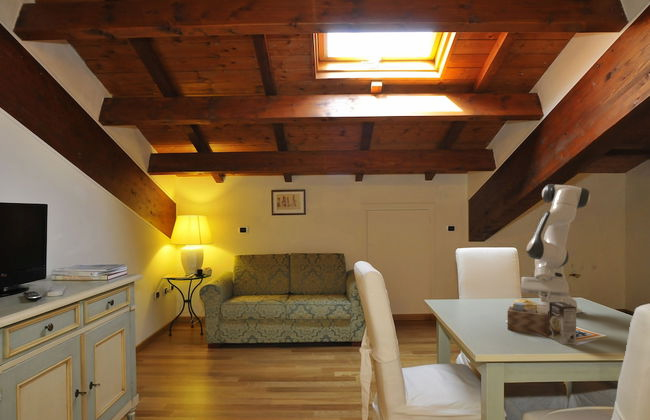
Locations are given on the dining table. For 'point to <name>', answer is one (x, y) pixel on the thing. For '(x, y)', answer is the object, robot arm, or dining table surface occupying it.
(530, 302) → the sculpture
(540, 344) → the dining table surface
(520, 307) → the blue key
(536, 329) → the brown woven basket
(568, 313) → the coffee box
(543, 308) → the white key
